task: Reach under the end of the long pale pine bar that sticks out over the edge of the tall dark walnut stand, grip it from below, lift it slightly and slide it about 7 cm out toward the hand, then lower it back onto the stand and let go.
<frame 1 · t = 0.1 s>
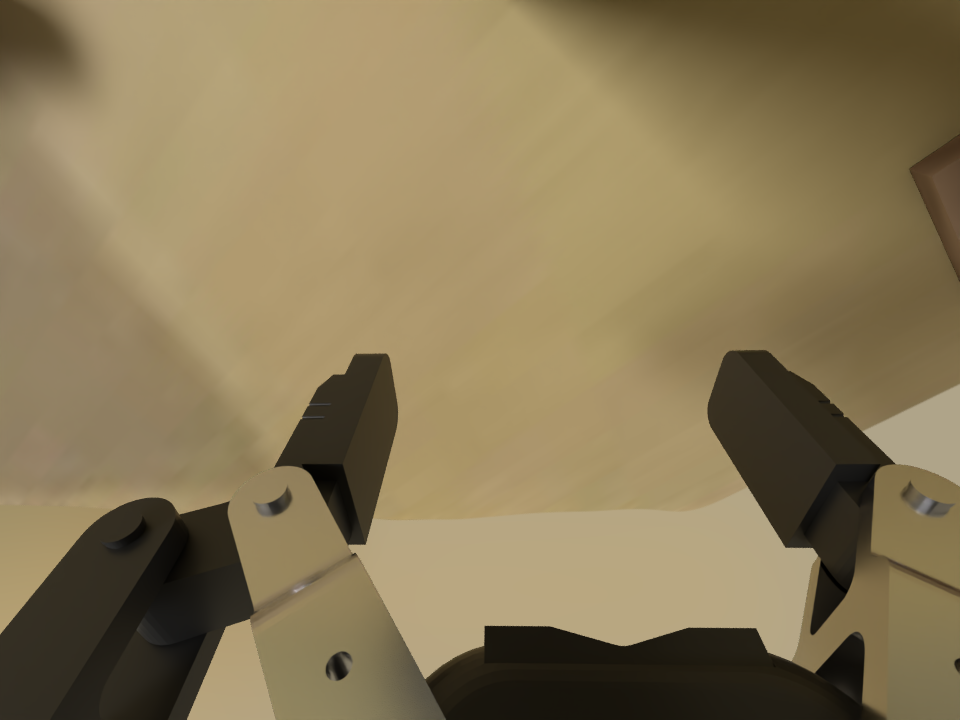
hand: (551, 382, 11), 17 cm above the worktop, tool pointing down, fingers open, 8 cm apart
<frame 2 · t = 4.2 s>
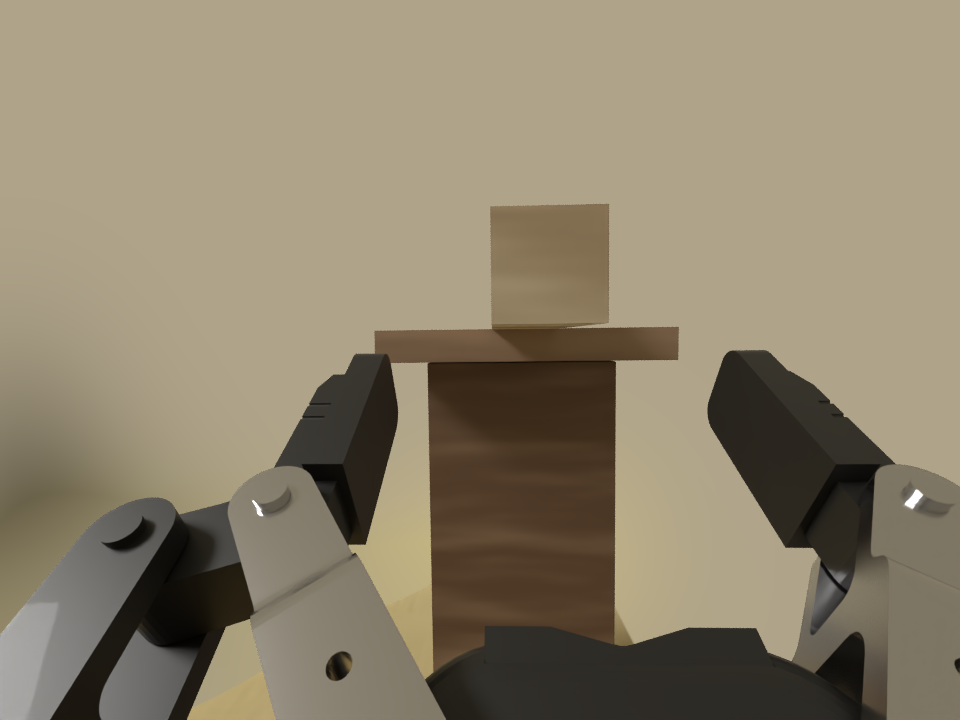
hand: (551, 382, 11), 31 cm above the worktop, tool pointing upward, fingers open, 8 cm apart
bar: (513, 331, 31), point 32 cm above the worktop, touching stand
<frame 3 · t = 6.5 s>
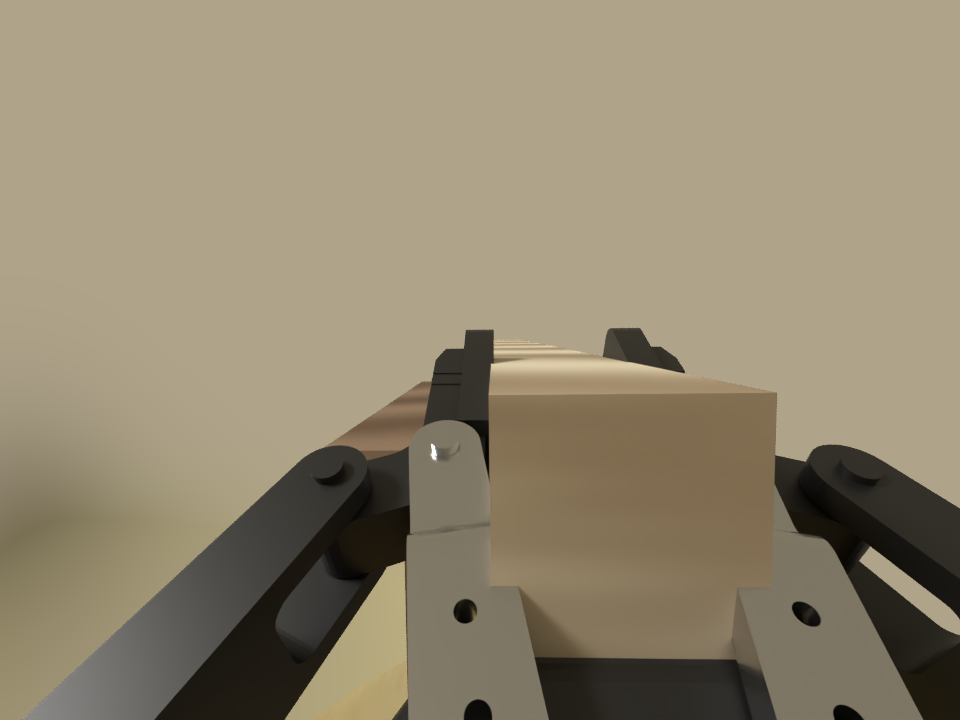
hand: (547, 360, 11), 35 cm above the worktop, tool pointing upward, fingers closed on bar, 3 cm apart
bar: (519, 397, 25), point 32 cm above the worktop, touching gripper, stand
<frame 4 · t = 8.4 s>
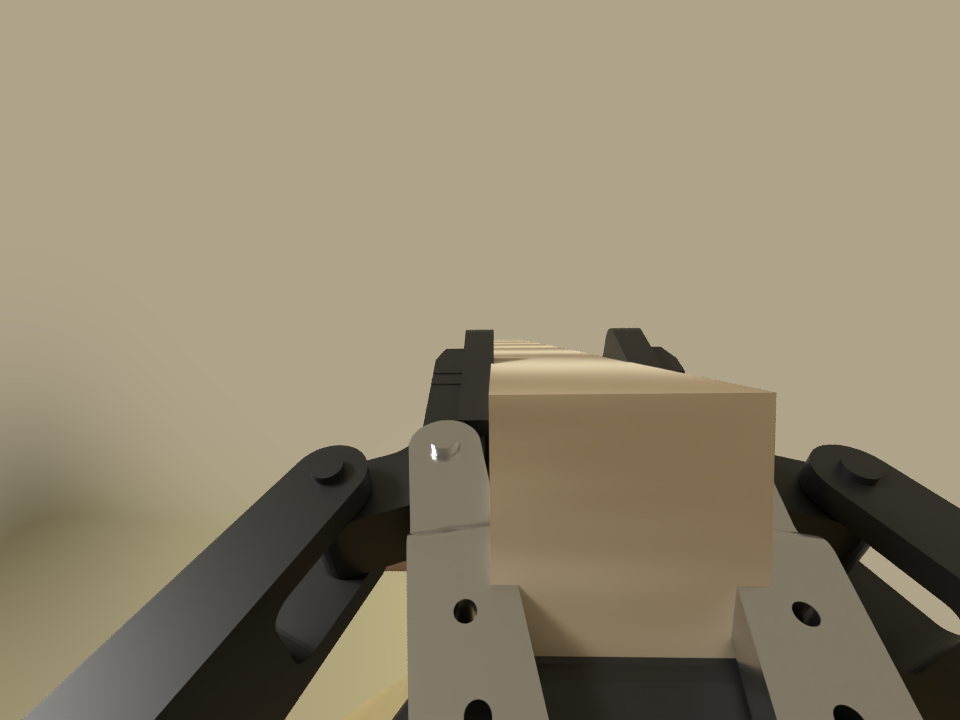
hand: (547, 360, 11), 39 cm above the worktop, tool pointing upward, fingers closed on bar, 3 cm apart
bar: (519, 397, 25), point 36 cm above the worktop, touching gripper
when the fingers open (36 cm above the worktop, at t = 10.4 s): bar stays where it is, resting on stand.
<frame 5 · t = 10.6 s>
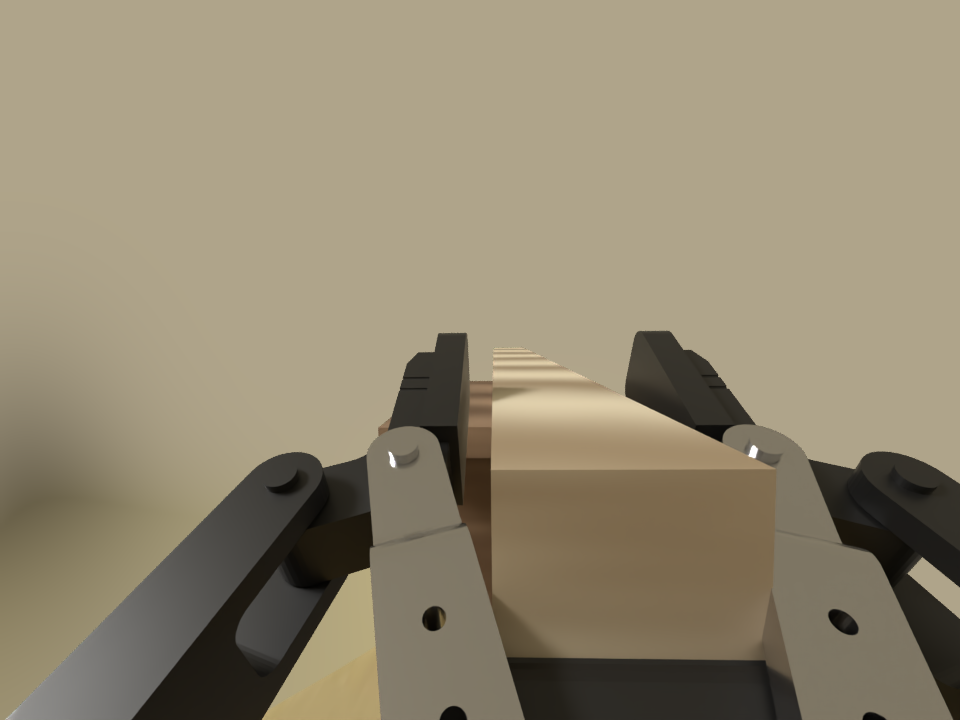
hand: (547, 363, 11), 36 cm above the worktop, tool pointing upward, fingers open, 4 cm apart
bar: (520, 411, 25), point 32 cm above the worktop, touching stand
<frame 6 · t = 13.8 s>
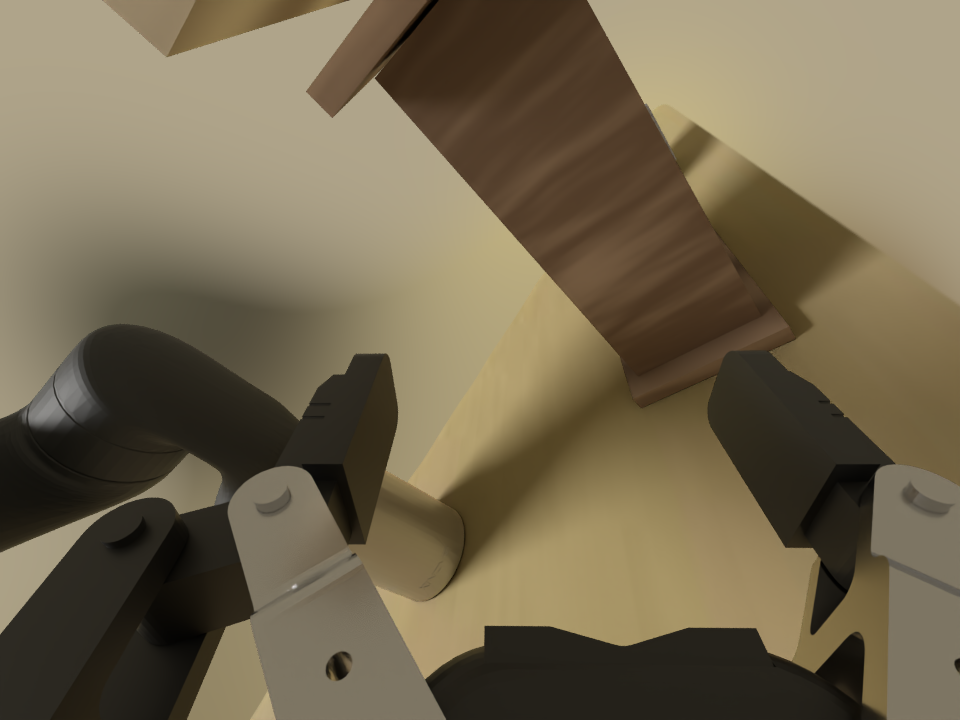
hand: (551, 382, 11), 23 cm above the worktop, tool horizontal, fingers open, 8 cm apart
stand: (677, 307, 41), on the worktop
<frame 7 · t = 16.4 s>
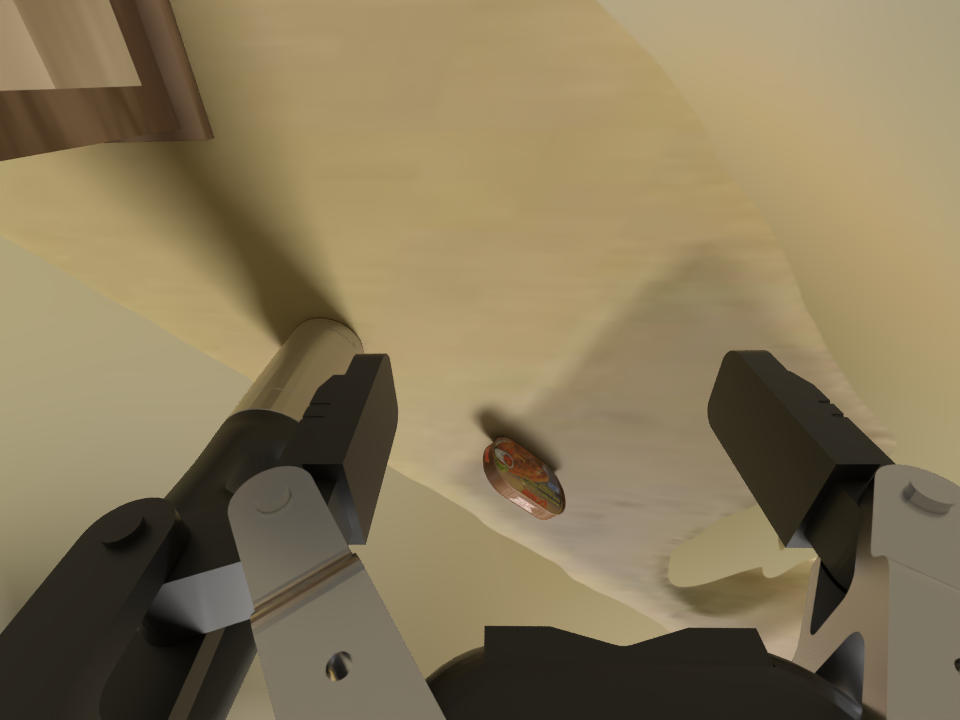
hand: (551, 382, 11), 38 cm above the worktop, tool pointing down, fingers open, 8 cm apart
stand: (92, 66, 39), on the worktop
tin: (522, 456, 66), on the worktop
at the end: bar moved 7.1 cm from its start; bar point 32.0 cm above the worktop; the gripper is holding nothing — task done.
